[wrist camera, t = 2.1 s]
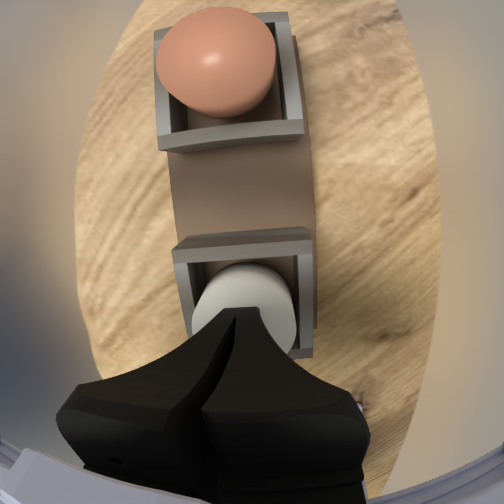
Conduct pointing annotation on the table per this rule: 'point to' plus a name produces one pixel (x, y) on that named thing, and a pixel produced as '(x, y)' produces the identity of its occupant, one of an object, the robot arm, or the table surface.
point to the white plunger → (250, 299)
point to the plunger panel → (245, 187)
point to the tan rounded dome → (218, 62)
